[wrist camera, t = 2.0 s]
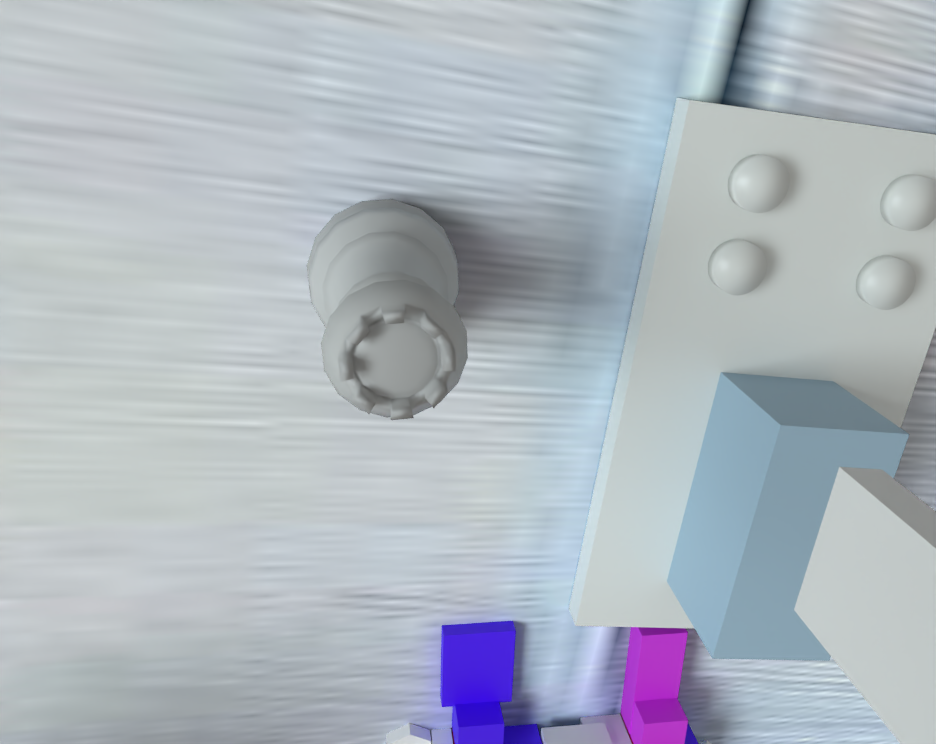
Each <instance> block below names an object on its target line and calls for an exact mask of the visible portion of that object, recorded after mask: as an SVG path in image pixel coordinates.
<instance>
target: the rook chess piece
mask: <svg viewBox="0 0 936 744" xmlns="http://www.w3.org/2000/svg"><path fill="white" fill-rule="evenodd" d="M307 272H308V281H309V289H310V296H311V303H312V305H313V307H314V308H315V310H316V312H317V313H318V315H319V317H320V319H321V320H322V322H323V324H324V326H325V327H326V329H325V333H324V336H323V339H322V342H321V347H322V356H323V364H324V371H325V373H326V374H327V376H328V378H329V379H330V381H331V383H332V384H333V386H334V388H335V390H336V391H337V393H338V394H339V395H340V396H342V397H343V398H344V399H346V400H347V401H348V402H350V403H351V404H352V405H354V406H355V407H357V408H358V409H359V410H361V411H365V412H367V413H368V414H370V413H373V414H376V415H380V416H384V417H391V420H397V419H408V418H413V415H415V414H417V413H419V412H421V411H423V410H425V409H427V408H430V407H433V408H434V407H435V406H436V405H437V404H438V403H440V402H441V401H442V399H443V398H444V397H445V396H446V395H447V394H448V393H449V392H450V391H451V390H452V389H453V388H454V387H455V386H456V384H457V383H458V382H459V379H460V376H461V374H462V371H463V369H464V366H465V363H466V361H467V358H468V355H467V333H466V329H465V327H464V325H463V323H462V321H461V319H460V317H459V315H458V313H457V311H456V309H455V307H454V303H455V300H456V298H457V295H458V292H459V281H458V262H457V260H456V253H455V251H454V249H453V247H452V245H451V243H450V241H449V239H448V237H447V235H446V232H445V230H444V228H442V227H441V226H440V225H439V224H438V223H437V222H436V221H434V220H433V219H432V218H431V217H430V216H429V215H428V214H426V213H425V212H424V211H423V210H422V209H420V208H417V207H414V206H411V205H408V204H405V203H402V202H399V201H396V200H393V199H388V200H373V201H361V202H359V203H357V204H355V205H353V206H351V207H349V208H347V209H345V210H343V211H341V212H339V213H337V214H335V215H334V216H333V217H332V219H331V220H330V221H329V222H328V223H327V224H326V226H325V227H324V228H323V229H322V230H321V232H320V233H319V234H318V235H317V236H316V237H315V240H314V244H313V247H312V250H311V253H310V257H309V260H308V263H307Z"/></svg>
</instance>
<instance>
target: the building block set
mask: <svg viewBox="0 0 936 744" xmlns="http://www.w3.org/2000/svg"><path fill="white" fill-rule="evenodd" d="M515 634H516V630H515V627H514V623H513V621H503V622H488V623H472V624H457V625H442V644H441V695H440V696H441V703H442V707H448V706H453V713H452V733H451V728H447V729H434V730H431V736H430V730H429V729H426V728H423V727H420V726H417V725H414V724H410V723H408V724H406V725H404V726H402V727H399V728H397V729H395V730H393V731H391V732H388V733H386V744H698V742H697V740H696V738H695V736H694V734H693V732H692V730H691V728H690V726H689V724H688V719H687V717H686V715H685V713H684V711H683V709H682V707H681V705H680V703H679V701H678V693H679V686H680V680H681V673H682V667H683V660H684V654H685V647H686V641H687V634H688V632H687V631H686V629H685V628H651V627H631V631H630V639H629V648H628V656H627V664H626V672H625V680H624V689H623V697H622V705H621V715H620V714H617V715H605V716H592V717H580V725H570V726H558V727H546V728H541V738H540V734H539V731H538V727H537V724H529V725H517V726H505V727H504V720H503V716H502V712H501V707H500V703H499V702H511V700H512V684H513V667H514V650H515ZM701 744H712V743H710V742H709V741H707V740H706V741H705V740H704V741H703V742H702V743H701Z"/></svg>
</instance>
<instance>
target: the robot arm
mask: <svg viewBox="0 0 936 744" xmlns="http://www.w3.org/2000/svg"><path fill="white" fill-rule="evenodd" d="M794 611H795V612H796V613H797V614H798V616H799V617H800V618H801V619H802V621H803V622H804V623H805V624H806V626H807V627H808V628H809V629H810V631H811V632H812V633H813V634H814V636H815V637H816V638H817V639H818V641H819V642H820V643H821V644H822V646H823V647H824V648H825V649H826V651H827V652H828V653H829V655H830V656H831V657H832V658H833V660H834V661H835V662H836V663H837V665H838V666H839V667H840V668H841V670H842V671H843V672H844V673H845V675H846V676H847V677H848V678H849V680H850V681H851V682H852V683H853V685H854V686H855V687H856V688H857V690H858V691H859V692H860V693H861V695H862V696H863V697H864V698H865V700H866V701H867V702H868V703H869V705H870V706H871V707H872V709H873V710H874V711H875V712H876V714H877V715H878V716H879V717H880V719H881V720H882V721H883V722H884V724H885V725H886V726H887V727H888V729H889V730H890V731H891V732H892V734H893V735H894V736H895V737H896V739H897V740H898V741H899V742H900V744H936V511H934V510H933V509H932V508H931V507H929V506H928V505H927V504H925V503H924V502H923V501H922V500H920V499H919V498H918V497H917V496H915V495H914V494H913V493H911V492H910V491H909V490H908V489H906V488H905V487H904V486H902V485H901V484H900V483H899V482H897V481H896V480H895V479H894V478H892V477H891V476H890V475H888V474H887V473H886V472H885V471H883V470H882V469H866V468H851V467H839V469H838V472H837V476H836V479H835V482H834V485H833V488H832V491H831V494H830V498H829V501H828V504H827V507H826V510H825V513H824V517H823V520H822V523H821V526H820V529H819V532H818V535H817V539H816V542H815V545H814V548H813V551H812V554H811V557H810V561H809V564H808V567H807V570H806V573H805V576H804V580H803V583H802V586H801V589H800V592H799V595H798V598H797V602H796V605H795V608H794Z"/></svg>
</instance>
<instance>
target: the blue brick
mask: <svg viewBox="0 0 936 744" xmlns="http://www.w3.org/2000/svg"><path fill="white" fill-rule="evenodd" d="M908 437H909V434H908V433H907V432H905V431H904V430H903V429H901V428H900V427H898V426H897V425H895V424H894V423H893V422H891V421H890V420H888V419H887V418H885V417H884V416H883V415H881V414H880V413H878V412H877V411H875V410H874V409H872V408H871V407H870V406H868V405H867V404H865V403H864V402H862V401H861V400H860V399H858V398H857V397H855V396H854V395H852V394H851V393H850V392H848V391H847V390H845V389H844V388H842V387H841V386H840V385H838V384H837V383H835V382H834V381H823V380H811V379H799V378H786V377H774V376H762V375H749V374H737V373H725V372H721V373H720V377H719V381H718V385H717V389H716V393H715V396H714V400H713V404H712V408H711V412H710V416H709V420H708V423H707V427H706V431H705V435H704V439H703V443H702V447H701V451H700V454H699V458H698V462H697V466H696V470H695V474H694V478H693V482H692V485H691V489H690V493H689V497H688V501H687V505H686V509H685V513H684V516H683V520H682V524H681V528H680V532H679V536H678V540H677V544H676V547H675V551H674V555H673V559H672V563H671V567H670V571H669V574H668V578H667V583H668V584H669V586H670V588H671V589H672V591H673V593H674V595H675V596H676V598H677V600H678V601H679V603H680V605H681V606H682V608H683V610H684V611H685V613H686V615H687V616H688V618H689V620H690V622H691V623H692V625H693V627H694V628H695V630H696V632H697V633H698V635H699V637H700V638H701V640H702V642H703V643H704V645H705V647H706V649H707V650H708V652H709V654H710V655H711V657H712V659H769V660H830V657H831V656H830V655H829V653H828V652H827V651H826V649H825V648H824V647H823V646H822V644H821V643H820V642H819V641H818V639H817V638H816V637H815V636H814V634H813V633H812V632H811V631H810V629H809V628H808V627H807V626H806V624H805V623H804V622H803V621H802V619H801V618H800V617H799V616H798V614H797V613H796V612H795V611H794V608H795V605H796V602H797V598H798V595H799V592H800V589H801V586H802V583H803V580H804V576H805V573H806V570H807V567H808V564H809V561H810V557H811V554H812V551H813V548H814V545H815V542H816V539H817V535H818V532H819V529H820V526H821V523H822V520H823V517H824V513H825V510H826V507H827V504H828V501H829V498H830V494H831V491H832V488H833V485H834V482H835V479H836V476H837V472H838V469H839V467H851V468H866V469H882V470H883V471H885V472H886V473H887V474H888V475H890V476H891V477H892V478H894V476H895V473H896V471H897V468H898V465H899V462H900V459H901V457H902V454H903V451H904V448H905V445H906V442H907V440H908Z"/></svg>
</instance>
